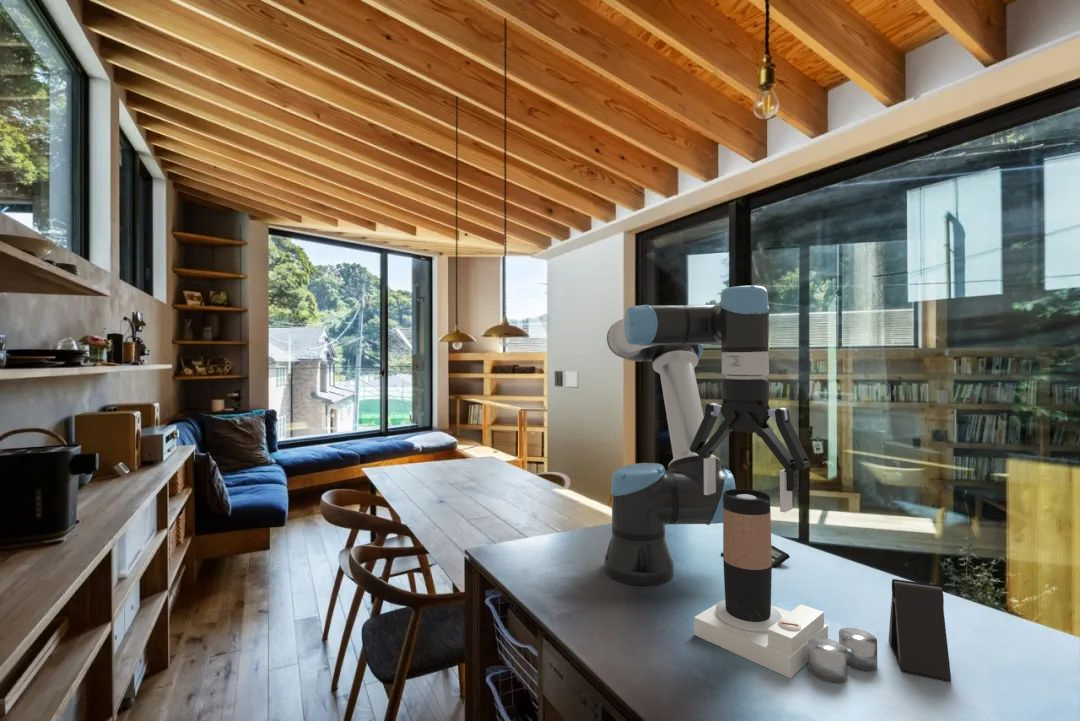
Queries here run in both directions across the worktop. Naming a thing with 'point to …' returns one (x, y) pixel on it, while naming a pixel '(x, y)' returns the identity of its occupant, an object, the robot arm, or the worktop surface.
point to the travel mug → (747, 554)
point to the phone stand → (919, 629)
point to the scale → (764, 635)
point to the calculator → (777, 556)
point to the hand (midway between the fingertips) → (745, 501)
